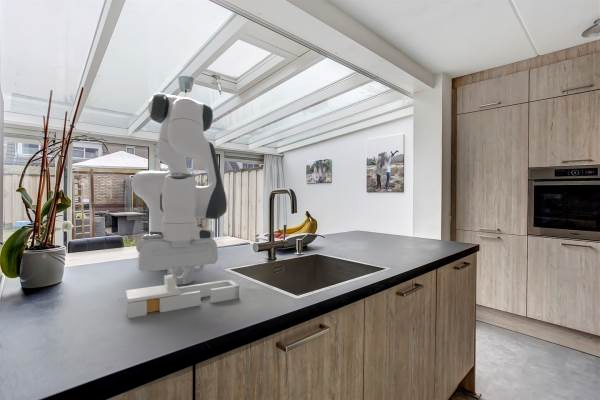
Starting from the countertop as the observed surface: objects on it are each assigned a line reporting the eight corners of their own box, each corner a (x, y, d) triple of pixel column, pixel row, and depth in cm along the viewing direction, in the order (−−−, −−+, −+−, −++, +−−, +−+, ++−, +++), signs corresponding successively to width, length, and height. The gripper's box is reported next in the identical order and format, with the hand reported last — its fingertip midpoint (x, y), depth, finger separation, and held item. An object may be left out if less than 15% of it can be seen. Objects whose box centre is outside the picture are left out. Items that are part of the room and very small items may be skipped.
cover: (125, 293, 79) (125, 278, 79) (174, 286, 86) (175, 272, 86) (127, 302, 73) (128, 286, 73) (180, 294, 79) (180, 279, 79)
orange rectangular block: (133, 310, 78) (133, 299, 78) (171, 304, 83) (171, 293, 83) (134, 314, 75) (134, 302, 75) (173, 307, 80) (173, 296, 80)
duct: (126, 308, 79) (126, 294, 79) (230, 291, 94) (230, 279, 94) (128, 318, 73) (128, 303, 73) (239, 298, 88) (239, 285, 88)
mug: (169, 286, 98) (169, 252, 98) (165, 280, 106) (165, 248, 105) (207, 281, 104) (207, 249, 104) (201, 275, 112) (201, 245, 111)
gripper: (137, 236, 74) (137, 293, 74) (220, 231, 85) (219, 281, 86) (135, 233, 79) (135, 286, 80) (213, 229, 91) (212, 275, 91)
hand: (179, 283), depth 83 cm, fingers closed
